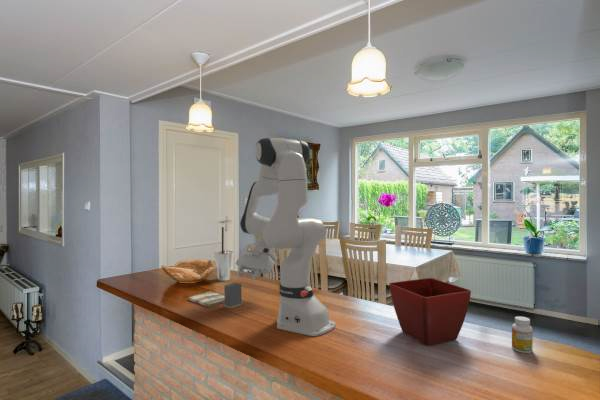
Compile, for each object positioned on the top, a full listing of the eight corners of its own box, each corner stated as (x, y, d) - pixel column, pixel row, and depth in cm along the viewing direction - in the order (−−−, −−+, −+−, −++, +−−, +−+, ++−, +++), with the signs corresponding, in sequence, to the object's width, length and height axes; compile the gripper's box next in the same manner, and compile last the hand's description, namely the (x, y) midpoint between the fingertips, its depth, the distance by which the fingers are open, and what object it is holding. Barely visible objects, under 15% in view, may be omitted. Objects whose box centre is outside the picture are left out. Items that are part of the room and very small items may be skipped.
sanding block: (241, 304, 153) (241, 284, 153) (230, 308, 148) (230, 287, 148) (235, 302, 156) (235, 282, 155) (224, 306, 151) (224, 285, 151)
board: (231, 300, 159) (231, 297, 159) (209, 307, 150) (209, 304, 150) (210, 293, 169) (210, 291, 169) (188, 299, 160) (188, 297, 160)
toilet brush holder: (223, 283, 189) (222, 227, 188) (209, 280, 195) (209, 226, 195) (238, 279, 197) (237, 225, 196) (224, 276, 204) (224, 224, 203)
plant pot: (387, 329, 125) (387, 282, 125) (431, 322, 132) (431, 277, 131) (424, 352, 107) (424, 297, 107) (472, 342, 114) (472, 290, 113)
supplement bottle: (513, 344, 113) (513, 314, 112) (533, 349, 109) (533, 317, 109) (510, 350, 108) (510, 318, 108) (531, 355, 105) (531, 323, 105)
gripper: (242, 246, 169) (226, 270, 162) (273, 250, 156) (256, 277, 149) (250, 254, 173) (234, 277, 166) (280, 259, 159) (264, 285, 152)
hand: (245, 277), depth 157 cm, fingers open, 8 cm apart
